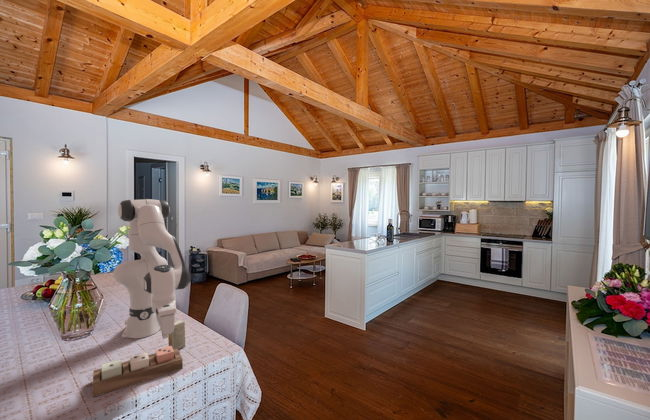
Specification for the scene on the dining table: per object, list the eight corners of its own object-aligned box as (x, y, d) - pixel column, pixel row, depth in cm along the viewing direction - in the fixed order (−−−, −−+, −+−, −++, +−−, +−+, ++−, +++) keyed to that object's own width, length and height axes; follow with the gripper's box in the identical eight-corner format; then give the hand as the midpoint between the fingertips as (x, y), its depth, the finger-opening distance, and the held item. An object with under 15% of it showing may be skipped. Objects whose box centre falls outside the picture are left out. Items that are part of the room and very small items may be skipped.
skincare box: (181, 343, 141) (181, 319, 140) (185, 346, 138) (185, 321, 137) (167, 348, 136) (167, 323, 135) (171, 352, 133) (171, 326, 132)
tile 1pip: (102, 377, 111) (101, 364, 111) (121, 371, 115) (120, 358, 114) (101, 385, 106) (101, 371, 106) (121, 379, 110) (121, 365, 110)
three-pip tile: (155, 361, 122) (155, 349, 122) (171, 356, 125) (171, 345, 125) (157, 368, 117) (157, 355, 117) (174, 363, 121) (174, 350, 120)
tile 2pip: (130, 368, 116) (129, 356, 116) (147, 363, 120) (147, 351, 120) (131, 376, 112) (130, 363, 111) (149, 370, 115) (149, 358, 115)
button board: (93, 380, 112) (93, 370, 112) (176, 355, 129) (176, 347, 129) (92, 397, 102) (92, 386, 102) (182, 368, 120) (182, 358, 120)
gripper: (152, 299, 127) (152, 330, 127) (158, 313, 110) (159, 349, 111) (168, 296, 130) (168, 326, 131) (177, 310, 114) (177, 344, 115)
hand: (164, 337), depth 121 cm, fingers closed
